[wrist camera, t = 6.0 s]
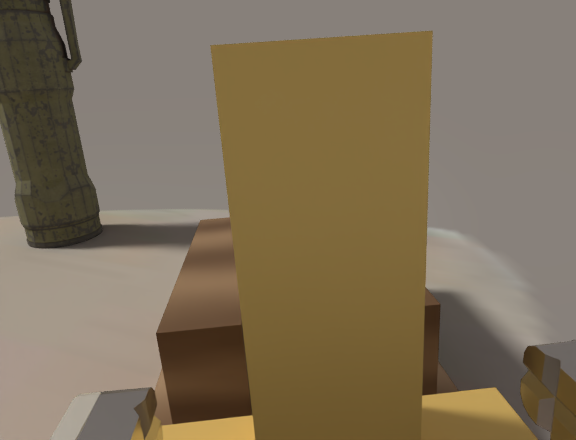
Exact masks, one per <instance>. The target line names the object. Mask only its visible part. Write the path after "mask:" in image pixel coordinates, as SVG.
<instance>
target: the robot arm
mask: <svg viewBox="0 0 576 440" xmlns="http://www.w3.org/2000/svg"><path fill="white" fill-rule="evenodd" d="M523 363H524V365H525V366H526V367H527V369H528V370H529V371H528V372H527V373H526V374H525V375H524V377H523V378H522V379H521V389H520V394H521V398H522V401H523V405H524V407H525V409H526V411H527V413H528V415H529V416H530V418H531V419H532V420H533V421H534V422H535V424H536V425H538V426H540V427H542V428H544V429H546V430H547V431H549V432H551V438H550V440H576V340H572V341H568V342H559V343H551V344H542V345H534V346H528V347H527V348H526V350H525V352H524V358H523ZM156 407H157V399H156V395H155V391H154V390H153V389H152V388H151V387H149V388H138V389H126V390H115V391H104V392H95V393H85V394H79V395H78V396H76V397H75V398H74V399H73V400H72V402H71V404H70V406H69V407H68V409H67V411H66V413H65V414H64V416H63V418H62V419H61V421H60V423H59V425H58V426H57V428H56V430H55V431H54V433H53V435H52V437H51V438H50V440H163V431H162V425H161V421H160V420H159V419H158V418H157V417H155V416H154V414H155V411H156Z"/></svg>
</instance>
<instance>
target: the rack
mask: <svg viewBox="0 0 576 440" xmlns="http://www.w3.org/2000/svg"><path fill="white" fill-rule="evenodd" d="M439 326H440V303H439V302H438V301H437V300H436V299H435V298H434V296H433V295H432V294H431V293H430V292H429V291H428V290H427V288H426V287H425V315H424V351H423V386H422V396H424V395H433V394H442V393H450V392H459V391H458V389H457V388H456V386H455V385H454V384H453V382H452V381H451V379H450V378H449V376H448V375H447V373H446V372H445V370H444V369H443V367H442V366H441V365H440V363H439V362H438V350H439ZM156 336H157V341H158V347H159V352H160V358H161V363H162V370H161V373H160V376H159V379H158V382H157V385H156V388H155V395H156V399H157V407H156V411H155V414H154V416H155V417H157V418H158V419H159V420H160V421H161V425H162V426H163V425H172V424H181V423H189V422H198V421H207V420H216V419H224V418H233V417H242V416H250V415H252V406H251V397H250V388H249V380H248V371H247V362H246V353H245V344H244V336H243V327H242V318H241V309H240V301H239V292H238V283H237V274H236V265H235V257H234V248H233V239H232V230H231V221H230V218H219V219H207V220H200V223H199V225H198V228H197V230H196V233H195V235H194V238H193V240H192V243H191V246H190V248H189V251H188V253H187V256H186V258H185V261H184V263H183V266H182V268H181V271H180V274H179V276H178V279H177V281H176V284H175V286H174V289H173V291H172V294H171V297H170V299H169V302H168V304H167V307H166V309H165V312H164V314H163V317H162V319H161V322H160V325H159V327H158V330H157V332H156Z"/></svg>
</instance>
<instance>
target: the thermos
mask: <svg viewBox="0 0 576 440" xmlns="http://www.w3.org/2000/svg"><path fill="white" fill-rule="evenodd" d="M49 3H50V0H0V124H1V128H2V132H3V136H4V140H5V144H6V147H7V151H8V155H9V159H10V162H11V167H12V170H13V174H14V178H15V182H16V189H15V203H16V207H17V210H18V214H19V218H20V222H21V224H22V225H23V227H24V228H25V232H26V236H27V242H28V245H29V246H31V247H35V248H53V247H61V246H67V245H71V244H75V243H79V242H83V241H85V240H88V239H91V238H93V237H95V236H97V235H99V234H100V233H101V232H102V225H101V223H100V218H99V211H100V210H99V205H98V199H97V194H96V189H95V187H94V185H93V183H92V181H91V179H90V178H89V176H88V174H87V169H86V165H85V159H84V155H83V150H82V145H81V140H80V136H79V131H78V127H77V121H76V116H75V112H74V107H73V102H72V96H73V91H74V86H73V81H72V76H71V72H73V70H76V68H77V67H78V66H79V64H80V63H81V62H82V60H81V55H80V50H79V46H78V40H77V35H76V28H75V22H74V16H73V10H72V4H71V0H60V5H61V10H62V15H63V20H64V25H65V30H66V35H67V40H68V45H69V50H70V54H71V60H70V59H68V57H67V52H66V48H65V44H64V42H63V40H62V38H61V36H60V34H59V32H58V31H57V29H56V27H55V23H54V17H53V16H52V15H51V13H50V8H49Z"/></svg>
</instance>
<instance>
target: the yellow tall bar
mask: <svg viewBox="0 0 576 440" xmlns="http://www.w3.org/2000/svg"><path fill="white" fill-rule="evenodd" d="M432 34H433V32H432V31H421V32H407V33H391V34H375V35H360V36H345V37H331V38H316V39H300V40H285V41H270V42H255V43H239V44H224V45H211V53H212V63H213V71H214V81H215V90H216V97H217V107H218V116H219V125H220V133H221V141H222V150H223V160H224V169H225V177H226V186H227V194H228V204H229V213H230V221H231V230H232V239H233V248H234V257H235V265H236V274H237V283H238V292H239V301H240V309H241V318H242V327H243V336H244V344H245V353H246V362H247V371H248V380H249V388H250V397H251V406H252V415H250V416H242V417H233V418H224V419H216V420H207V421H198V422H189V423H181V424H172V425H163V426H162V431H163V440H538V439H537V438H536V436H535V435H534V434H533V433H532V432H531V430H530V429H529V428H528V427H527V425H526V424H525V423H524V422H523V421H522V419H521V418H520V417H519V416H518V414H517V413H516V412H515V411H514V410H513V408H512V407H511V406H510V405H509V403H508V402H507V401H506V400H505V399H504V397H503V396H502V395H501V394H500V392H499V391H498V390H497V389H496V388H495V387H494V388H485V389H476V390H468V391H459V392H450V393H442V394H433V395H424V396H422V386H423V351H424V315H425V280H426V245H427V210H428V175H429V174H428V173H429V140H430V105H431V104H430V102H431V69H432Z"/></svg>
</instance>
